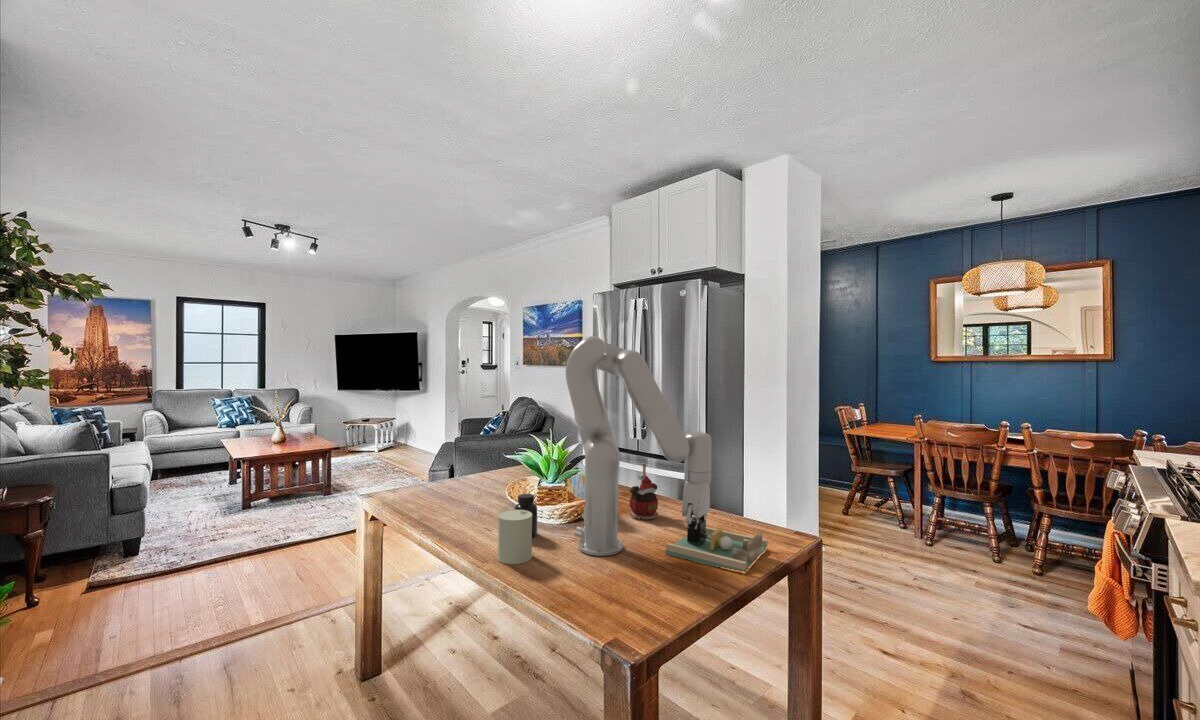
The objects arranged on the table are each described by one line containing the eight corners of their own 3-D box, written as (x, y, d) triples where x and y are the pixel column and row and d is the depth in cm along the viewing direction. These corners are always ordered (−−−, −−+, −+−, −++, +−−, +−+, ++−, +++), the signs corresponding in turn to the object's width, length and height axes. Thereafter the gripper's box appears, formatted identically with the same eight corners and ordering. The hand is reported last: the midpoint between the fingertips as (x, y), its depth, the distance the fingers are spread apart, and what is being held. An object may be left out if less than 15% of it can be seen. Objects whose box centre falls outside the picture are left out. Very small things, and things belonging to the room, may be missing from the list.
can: (539, 555, 136) (539, 511, 136) (515, 567, 128) (516, 520, 128) (514, 548, 141) (515, 505, 141) (490, 558, 133) (490, 514, 133)
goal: (732, 558, 133) (733, 540, 133) (744, 547, 141) (744, 530, 141) (751, 562, 130) (751, 544, 130) (761, 551, 138) (762, 534, 138)
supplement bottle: (539, 531, 154) (539, 493, 154) (534, 539, 148) (534, 499, 147) (517, 530, 155) (518, 492, 155) (511, 538, 148) (512, 498, 148)
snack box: (601, 520, 166) (601, 474, 166) (585, 522, 164) (585, 476, 164) (579, 502, 186) (580, 462, 186) (565, 503, 184) (566, 463, 184)
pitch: (665, 554, 138) (666, 544, 138) (695, 533, 155) (695, 524, 155) (744, 574, 126) (744, 563, 126) (767, 549, 142) (767, 540, 142)
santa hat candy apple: (646, 510, 177) (647, 459, 177) (664, 517, 170) (665, 464, 170) (622, 515, 172) (623, 463, 171) (639, 523, 164) (640, 468, 164)
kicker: (685, 543, 142) (685, 522, 142) (694, 536, 148) (694, 516, 147) (714, 550, 137) (714, 528, 137) (722, 543, 143) (722, 522, 143)
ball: (717, 550, 138) (717, 537, 138) (721, 546, 141) (722, 533, 141) (729, 553, 136) (730, 540, 136) (734, 549, 139) (734, 536, 139)
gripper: (696, 469, 153) (695, 528, 153) (673, 479, 139) (672, 545, 139) (720, 472, 148) (719, 533, 149) (698, 484, 135) (697, 551, 135)
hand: (696, 538), depth 144 cm, fingers closed on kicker, 4 cm apart
